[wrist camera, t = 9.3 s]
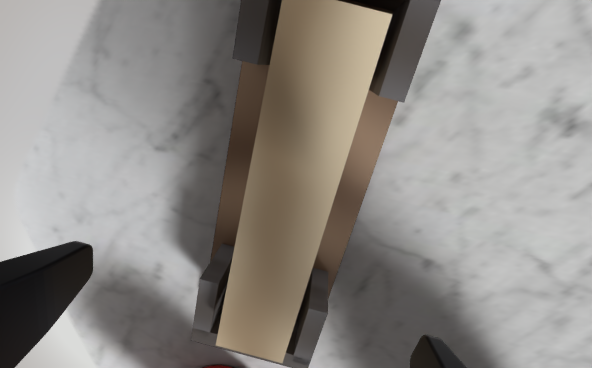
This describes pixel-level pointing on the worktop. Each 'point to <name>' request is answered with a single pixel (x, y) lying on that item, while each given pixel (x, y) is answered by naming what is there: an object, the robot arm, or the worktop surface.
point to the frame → (355, 178)
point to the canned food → (218, 366)
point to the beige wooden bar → (297, 165)
